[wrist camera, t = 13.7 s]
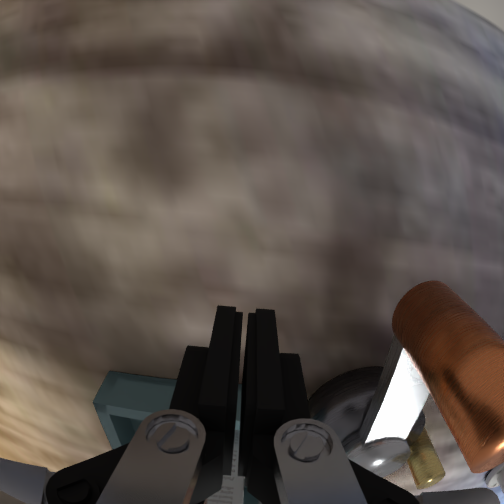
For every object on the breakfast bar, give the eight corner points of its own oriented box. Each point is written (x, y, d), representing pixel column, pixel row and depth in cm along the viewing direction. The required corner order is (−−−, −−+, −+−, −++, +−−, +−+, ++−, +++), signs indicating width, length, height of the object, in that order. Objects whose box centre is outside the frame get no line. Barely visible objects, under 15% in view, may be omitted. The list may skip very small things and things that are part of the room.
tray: (289, 385, 17) (293, 421, 14) (271, 486, 21) (272, 513, 19) (109, 370, 17) (92, 402, 14) (145, 475, 21) (139, 500, 19)
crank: (390, 460, 16) (418, 551, 9) (329, 468, 16) (347, 569, 9) (468, 279, 11) (576, 380, 5) (389, 279, 11) (493, 416, 5)
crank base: (447, 359, 17) (487, 417, 12) (413, 430, 19) (436, 485, 14) (312, 369, 17) (329, 447, 12) (297, 442, 19) (304, 509, 14)
